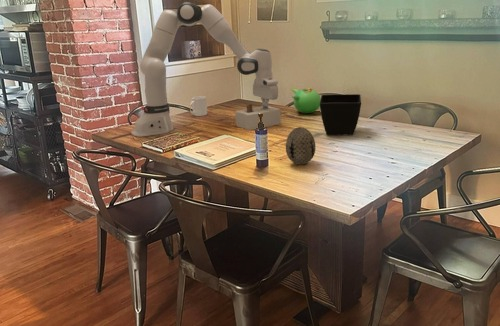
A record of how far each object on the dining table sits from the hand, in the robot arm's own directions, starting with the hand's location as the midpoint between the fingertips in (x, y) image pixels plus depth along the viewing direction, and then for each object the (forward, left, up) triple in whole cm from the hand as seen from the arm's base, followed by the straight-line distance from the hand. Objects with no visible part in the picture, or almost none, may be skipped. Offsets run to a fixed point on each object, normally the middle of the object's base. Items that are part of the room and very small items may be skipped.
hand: (265, 105), depth 247 cm
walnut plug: (-10, 0, -7) cm, 12 cm away
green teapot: (+31, +5, -10) cm, 33 cm away
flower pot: (+17, -41, -10) cm, 45 cm away
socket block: (-5, 0, -10) cm, 11 cm away
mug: (-20, +46, -10) cm, 51 cm away
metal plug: (0, 0, -9) cm, 9 cm away
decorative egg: (-26, -67, -10) cm, 73 cm away
